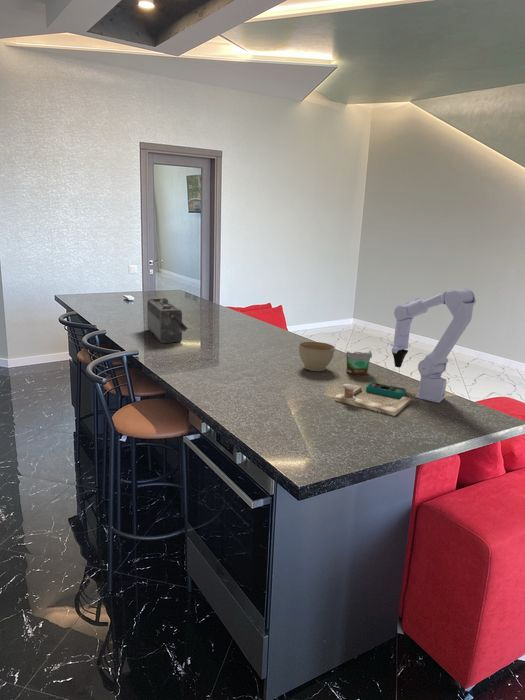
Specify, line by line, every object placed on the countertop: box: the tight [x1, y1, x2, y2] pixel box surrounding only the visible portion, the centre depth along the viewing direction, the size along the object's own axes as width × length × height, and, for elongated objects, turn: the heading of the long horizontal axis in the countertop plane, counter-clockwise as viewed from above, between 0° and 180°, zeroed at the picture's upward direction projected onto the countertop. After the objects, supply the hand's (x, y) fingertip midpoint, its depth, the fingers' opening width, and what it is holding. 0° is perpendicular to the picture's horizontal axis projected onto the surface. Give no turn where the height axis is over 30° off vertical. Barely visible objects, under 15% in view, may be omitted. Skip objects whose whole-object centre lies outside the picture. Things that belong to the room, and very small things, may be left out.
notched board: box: [334, 383, 412, 417], centre depth 180 cm, size 23×18×6 cm
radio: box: [146, 297, 189, 344], centre depth 266 cm, size 38×14×20 cm, turn 24°
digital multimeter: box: [365, 382, 407, 400], centre depth 191 cm, size 7×15×3 cm, turn 61°
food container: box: [344, 350, 373, 377], centre depth 213 cm, size 12×6×10 cm, turn 105°
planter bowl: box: [298, 341, 336, 372], centre depth 218 cm, size 16×16×11 cm
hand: (397, 366), depth 199 cm, fingers closed
